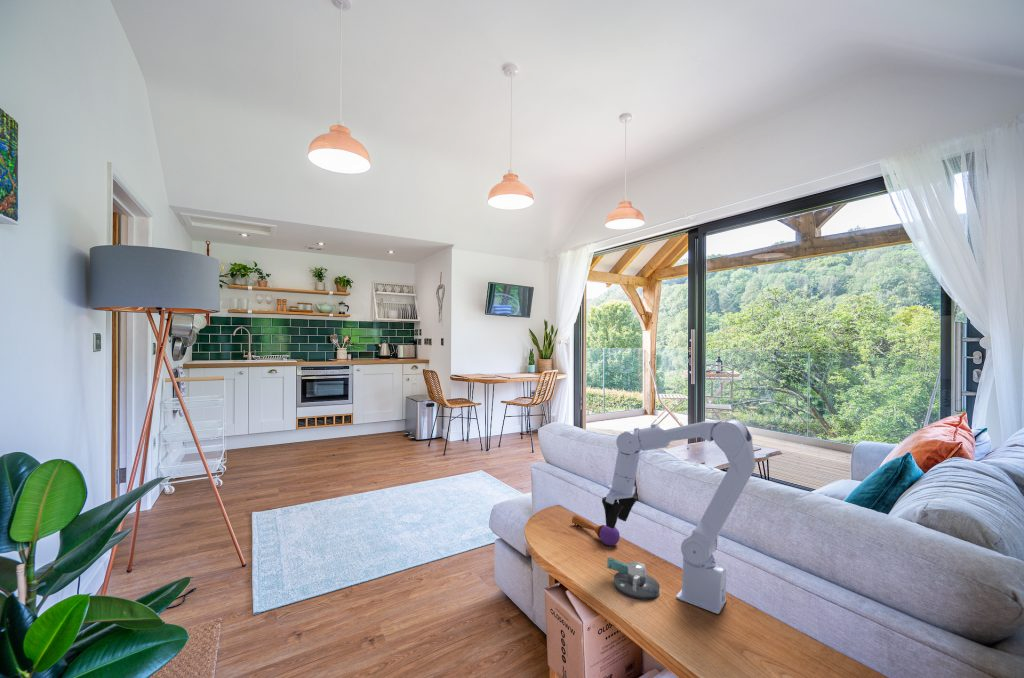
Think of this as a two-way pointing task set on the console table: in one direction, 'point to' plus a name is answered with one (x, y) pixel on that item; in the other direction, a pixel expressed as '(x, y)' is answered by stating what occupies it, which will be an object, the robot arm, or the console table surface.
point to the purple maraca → (600, 531)
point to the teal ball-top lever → (628, 569)
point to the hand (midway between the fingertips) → (616, 523)
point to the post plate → (636, 587)
